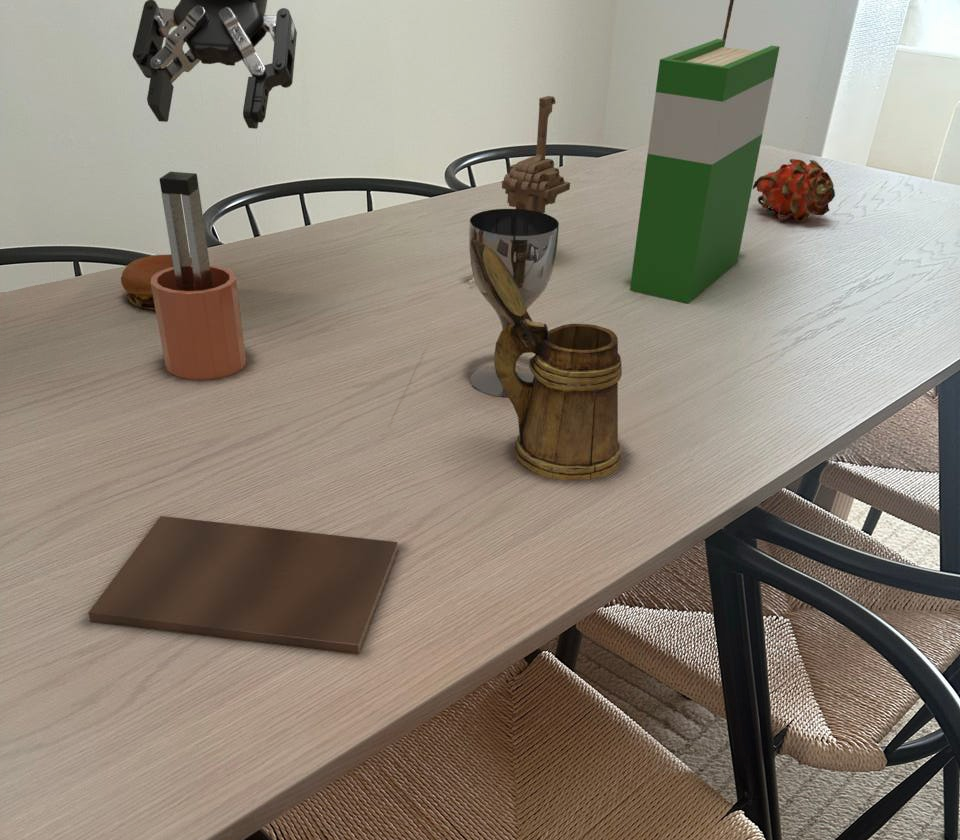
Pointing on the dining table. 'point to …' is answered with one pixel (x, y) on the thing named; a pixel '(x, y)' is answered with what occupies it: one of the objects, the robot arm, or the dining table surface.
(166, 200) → the tongs
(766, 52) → the hardback book
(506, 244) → the wine glass
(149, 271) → the burger
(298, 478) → the dining table surface
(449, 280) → the dining table surface
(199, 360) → the holder
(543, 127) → the ostrich figurine
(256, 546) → the board
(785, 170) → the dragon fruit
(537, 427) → the wooden mug
